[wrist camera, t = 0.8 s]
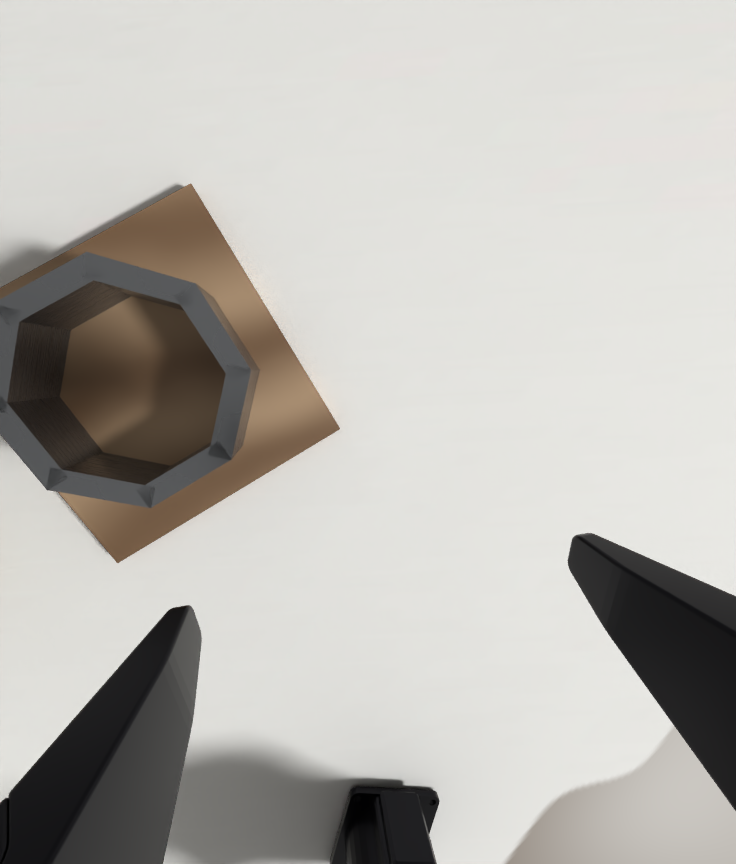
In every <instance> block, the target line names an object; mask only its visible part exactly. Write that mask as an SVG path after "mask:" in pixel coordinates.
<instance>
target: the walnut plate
mask: <svg viewBox="0 0 736 864" xmlns="http://www.w3.org/2000/svg"><path fill="white" fill-rule="evenodd" d="M85 252H89V253H93V254H96V255H100V256H103V257H106V258H110V259H113V260H117V261H120V262H124V263H127V264H131V265H134V266H137V267H141V268H144V269H148V270H151V271H155V272H158V273H162V274H165V275H168V276H172V277H175V278H179V279H182V280H186V281H189V282H192V283H196V284H197V285H199V286H200V287H201V288H202V289H204V290H205V291H206V292H207V293H209V294H210V295H211V296H213V297H214V298H215V300H216V302H217V303H218V305H219V306H220V308H221V309H222V311H223V313H224V314H225V316H226V317H227V319H228V320H229V322H230V324H231V325H232V327H233V328H234V330H235V331H236V333H237V335H238V336H239V338H240V339H241V341H242V342H243V344H244V346H245V347H246V349H247V350H248V352H249V353H250V355H251V357H252V358H253V360H254V361H255V363H256V364H257V366H258V368H259V369H260V372H259V377H258V381H257V386H256V390H255V394H254V399H253V403H252V408H251V412H250V417H249V421H248V425H247V430H246V434H245V439H244V443H243V446H242V447H241V449H240V450H239V451H238V452H237V454H236V455H235V456H234V457H233V459H232V460H230V461H228V462H227V463H225V464H223V465H222V466H220V467H218V468H217V469H215V470H213V471H212V472H210V473H208V474H207V475H205V476H203V477H202V478H200V479H198V480H197V481H195V482H193V483H192V484H190V485H188V486H187V487H185V488H183V489H182V490H180V491H178V492H177V493H175V494H173V495H172V496H170V497H168V498H167V499H165V500H163V501H162V502H160V503H158V504H156V505H155V506H153V507H152V508H147V507H141V506H135V505H130V504H124V503H118V502H113V501H107V500H102V499H96V498H90V497H85V496H79V495H74V494H68V493H62V492H59V494H60V495H61V496H62V497H63V498H64V500H65V501H66V502H67V503H68V504H69V506H70V507H71V508H72V509H73V510H74V512H75V513H76V514H77V515H78V516H79V518H80V519H81V520H82V521H83V522H84V524H85V525H86V526H87V527H88V528H89V530H90V531H91V532H92V533H93V534H94V536H95V537H96V538H97V539H98V540H99V542H100V543H101V544H102V545H103V546H104V548H105V549H106V550H107V551H108V552H109V554H110V555H111V556H112V557H113V558H114V560H115V561H116V562H117V563H119V562H120V561H122V560H124V559H125V558H127V557H129V556H130V555H132V554H134V553H135V552H137V551H139V550H140V549H142V548H144V547H145V546H147V545H149V544H150V543H152V542H154V541H155V540H157V539H159V538H160V537H162V536H164V535H165V534H167V533H169V532H170V531H172V530H173V529H175V528H177V527H178V526H180V525H182V524H183V523H185V522H187V521H188V520H190V519H192V518H193V517H195V516H197V515H198V514H200V513H202V512H203V511H205V510H207V509H208V508H210V507H212V506H213V505H215V504H217V503H218V502H220V501H222V500H223V499H225V498H226V497H228V496H230V495H231V494H233V493H235V492H236V491H238V490H240V489H241V488H243V487H245V486H246V485H248V484H250V483H251V482H253V481H255V480H256V479H258V478H260V477H261V476H263V475H265V474H266V473H268V472H270V471H271V470H273V469H275V468H276V467H278V466H280V465H281V464H283V463H284V462H286V461H288V460H289V459H291V458H293V457H294V456H296V455H298V454H299V453H301V452H303V451H304V450H306V449H308V448H309V447H311V446H313V445H314V444H316V443H318V442H319V441H321V440H323V439H324V438H326V437H328V436H329V435H331V434H333V433H334V432H336V431H337V430H339V429H340V428H339V426H338V425H337V423H336V421H335V420H334V418H333V416H332V415H331V413H330V411H329V410H328V408H327V406H326V405H325V403H324V401H323V400H322V398H321V397H320V395H319V393H318V392H317V390H316V388H315V387H314V385H313V383H312V382H311V380H310V378H309V377H308V375H307V373H306V372H305V370H304V369H303V367H302V365H301V364H300V362H299V360H298V359H297V357H296V355H295V354H294V352H293V350H292V349H291V347H290V345H289V344H288V342H287V341H286V339H285V337H284V336H283V334H282V332H281V331H280V329H279V327H278V326H277V324H276V322H275V321H274V319H273V317H272V316H271V314H270V313H269V311H268V309H267V308H266V306H265V304H264V303H263V301H262V299H261V298H260V296H259V294H258V293H257V291H256V290H255V288H254V286H253V285H252V283H251V281H250V280H249V278H248V276H247V275H246V273H245V271H244V270H243V268H242V266H241V265H240V263H239V262H238V260H237V258H236V257H235V255H234V253H233V252H232V250H231V248H230V247H229V245H228V243H227V242H226V240H225V238H224V237H223V235H222V234H221V232H220V230H219V229H218V227H217V225H216V224H215V222H214V220H213V219H212V217H211V215H210V214H209V212H208V210H207V209H206V207H205V206H204V204H203V202H202V201H201V199H200V197H199V196H198V194H197V192H196V191H195V189H194V187H193V186H192V184H189V185H187V186H185V187H183V188H182V189H180V190H178V191H176V192H174V193H172V194H171V195H169V196H167V197H165V198H163V199H161V200H160V201H158V202H156V203H154V204H152V205H151V206H149V207H147V208H145V209H143V210H141V211H140V212H138V213H136V214H134V215H132V216H130V217H129V218H127V219H125V220H123V221H121V222H120V223H118V224H116V225H114V226H112V227H110V228H109V229H107V230H105V231H103V232H101V233H100V234H98V235H96V236H94V237H92V238H90V239H89V240H87V241H85V242H83V243H81V244H79V245H78V246H76V247H74V248H72V249H70V250H69V251H67V252H65V253H63V254H61V255H59V256H58V257H56V258H54V259H52V260H50V261H48V262H47V263H45V264H43V265H41V266H39V267H38V268H36V269H34V270H32V271H30V272H28V273H27V274H25V275H23V276H21V277H19V278H17V279H16V280H14V281H12V282H10V283H8V284H7V285H5V286H3V287H1V288H0V299H2V298H3V297H5V296H7V295H9V294H11V293H12V292H14V291H16V290H18V289H20V288H22V287H23V286H25V285H27V284H29V283H31V282H32V281H34V280H36V279H38V278H40V277H42V276H43V275H45V274H47V273H49V272H51V271H52V270H54V269H56V268H58V267H60V266H62V265H63V264H65V263H67V262H69V261H71V260H72V259H74V258H76V257H78V256H80V255H82V254H83V253H85ZM225 376H226V373H225V371H224V370H223V368H222V367H221V365H220V364H219V362H218V361H217V359H216V358H215V356H214V355H213V353H212V352H211V350H210V349H209V347H208V346H207V344H206V343H205V341H204V340H203V338H202V337H201V335H200V334H199V332H198V331H197V329H196V327H195V326H194V324H193V323H192V321H191V320H190V318H189V317H188V315H187V314H186V312H185V311H184V310H180V309H176V308H173V307H169V306H165V305H162V304H158V303H155V302H151V301H147V300H144V299H140V298H136V297H133V296H131V297H129V298H127V299H126V300H124V301H122V302H120V303H118V304H117V305H115V306H113V307H111V308H110V309H108V310H106V311H104V312H102V313H101V314H99V315H97V316H95V317H94V318H92V319H90V320H88V321H86V322H85V323H83V324H81V325H79V326H77V327H76V328H74V329H72V330H71V332H70V338H69V344H68V350H67V356H66V363H65V369H64V375H63V381H62V387H61V393H60V397H61V399H62V400H63V401H64V403H65V404H66V405H67V406H68V408H69V409H70V410H71V412H72V413H73V414H74V415H75V417H76V418H77V419H78V421H79V422H80V423H81V424H82V426H83V427H84V428H85V430H86V431H87V432H88V433H89V435H90V436H91V437H92V439H93V440H94V441H95V442H96V444H97V445H98V446H99V447H100V449H101V450H102V451H103V452H105V453H110V454H115V455H120V456H125V457H130V458H135V459H140V460H145V461H150V462H155V463H160V464H165V465H170V466H172V465H173V464H175V463H177V462H178V461H180V460H182V459H183V458H185V457H187V456H188V455H190V454H192V453H194V452H195V451H197V450H199V449H200V448H202V447H204V446H205V445H207V444H209V443H210V442H211V441H212V436H213V431H214V427H215V422H216V418H217V413H218V408H219V404H220V399H221V394H222V390H223V385H224V380H225Z"/></svg>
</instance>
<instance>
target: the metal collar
mask: <svg viewBox="0 0 736 864" xmlns="http://www.w3.org/2000/svg"><path fill="white" fill-rule="evenodd" d="M131 296H133V297H136V298H140V299H144V300H147V301H151V302H155V303H158V304H162V305H165V306H169V307H173V308H176V309H180V310H184V311H185V312H186V314H187V315H188V317H189V318H190V320H191V321H192V323H193V324H194V326H195V327H196V329H197V331H198V332H199V334H200V335H201V337H202V338H203V340H204V341H205V343H206V344H207V346H208V347H209V349H210V350H211V352H212V353H213V355H214V356H215V358H216V359H217V361H218V362H219V364H220V365H221V367H222V368H223V370H224V371H225V373H226V376H225V380H224V385H223V390H222V394H221V399H220V404H219V408H218V413H217V418H216V422H215V427H214V431H213V436H212V441H211V442H210V443H209V444H207V445H205V446H204V447H202V448H200V449H199V450H197V451H195V452H194V453H192V454H190V455H188V456H187V457H185V458H183V459H182V460H180V461H178V462H177V463H175V464H173V465H172V466H170V465H165V464H160V463H155V462H150V461H145V460H140V459H135V458H130V457H125V456H120V455H115V454H110V453H105V452H103V451H102V450H101V449H100V447H99V446H98V445H97V444H96V442H95V441H94V440H93V439H92V437H91V436H90V435H89V433H88V432H87V431H86V430H85V428H84V427H83V426H82V424H81V423H80V422H79V421H78V419H77V418H76V417H75V415H74V414H73V413H72V412H71V410H70V409H69V408H68V406H67V405H66V404H65V403H64V401H63V400H62V399H61V397H60V393H61V387H62V381H63V375H64V369H65V363H66V356H67V350H68V344H69V338H70V332H71V330H72V329H74V328H76V327H77V326H79V325H81V324H83V323H85V322H86V321H88V320H90V319H92V318H94V317H95V316H97V315H99V314H101V313H102V312H104V311H106V310H108V309H110V308H111V307H113V306H115V305H117V304H118V303H120V302H122V301H124V300H126V299H127V298H129V297H131ZM259 372H260V369H259V368H258V366H257V364H256V363H255V361H254V360H253V358H252V357H251V355H250V353H249V352H248V350H247V349H246V347H245V346H244V344H243V342H242V341H241V339H240V338H239V336H238V335H237V333H236V331H235V330H234V328H233V327H232V325H231V324H230V322H229V320H228V319H227V317H226V316H225V314H224V313H223V311H222V309H221V308H220V306H219V305H218V303H217V302H216V300H215V298H214V297H213V296H211V295H210V294H209V293H207V292H206V291H205V290H204V289H202V288H201V287H200V286H199V285H197V284H196V283H192V282H189V281H186V280H182V279H179V278H175V277H172V276H168V275H165V274H162V273H158V272H155V271H151V270H148V269H144V268H141V267H137V266H134V265H131V264H127V263H124V262H120V261H117V260H113V259H110V258H106V257H103V256H100V255H96V254H93V253H89V252H85V253H83V254H82V255H80V256H78V257H76V258H74V259H72V260H71V261H69V262H67V263H65V264H63V265H62V266H60V267H58V268H56V269H54V270H52V271H51V272H49V273H47V274H45V275H43V276H42V277H40V278H38V279H36V280H34V281H32V282H31V283H29V284H27V285H25V286H23V287H22V288H20V289H18V290H16V291H14V292H12V293H11V294H9V295H7V296H5V297H3V298H2V299H0V434H1V436H2V437H3V438H4V439H5V440H6V442H7V443H8V444H9V445H10V446H11V448H12V449H13V450H14V451H15V452H16V453H17V455H18V456H19V457H20V458H21V459H22V461H23V462H24V463H25V464H26V465H27V467H28V468H29V469H30V470H31V471H32V473H33V474H34V475H35V476H36V477H37V478H38V480H39V481H40V482H41V483H42V484H43V486H44V487H45V488H46V490H51V491H57V492H62V493H68V494H74V495H79V496H85V497H90V498H96V499H102V500H107V501H113V502H118V503H124V504H130V505H135V506H141V507H147V508H152V507H153V506H155V505H156V504H158V503H160V502H162V501H163V500H165V499H167V498H168V497H170V496H172V495H173V494H175V493H177V492H178V491H180V490H182V489H183V488H185V487H187V486H188V485H190V484H192V483H193V482H195V481H197V480H198V479H200V478H202V477H203V476H205V475H207V474H208V473H210V472H212V471H213V470H215V469H217V468H218V467H220V466H222V465H223V464H225V463H227V462H228V461H230V460H232V459H233V457H234V456H235V455H236V454H237V452H238V451H239V450H240V449H241V447H242V446H243V443H244V439H245V434H246V430H247V425H248V421H249V417H250V412H251V408H252V403H253V399H254V394H255V390H256V386H257V381H258V377H259Z"/></svg>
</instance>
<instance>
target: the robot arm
mask: <svg viewBox="0 0 736 864" xmlns="http://www.w3.org/2000/svg"><path fill="white" fill-rule="evenodd" d="M568 566H569V569H570V571H571V573H572V575H573V576H574V578H575V580H576V581H577V583H578V585H579V587H580V588H581V590H582V592H583V593H584V595H585V597H586V598H587V600H588V602H589V603H590V605H591V607H592V609H593V610H594V612H595V614H596V615H597V617H598V619H599V620H600V622H601V623H602V625H603V627H604V628H605V630H606V631H607V633H608V634H609V636H610V637H611V638H612V640H613V641H614V643H615V644H616V645H617V647H618V648H619V650H620V651H621V652H622V654H623V655H624V657H625V658H626V659H627V661H628V662H629V663H630V665H631V666H632V668H633V669H634V670H635V672H636V673H637V675H638V676H639V677H640V679H641V680H642V682H643V683H644V684H645V686H646V687H647V688H648V690H649V691H650V693H651V694H652V695H653V697H654V698H655V700H656V701H657V702H658V704H659V705H660V707H661V708H662V709H663V711H664V712H665V713H666V715H667V716H668V718H669V719H670V720H671V722H672V723H673V725H674V726H675V727H676V729H677V730H678V731H679V733H680V734H681V736H682V737H683V738H684V740H685V741H686V743H687V744H688V745H689V747H690V748H691V750H692V751H693V752H694V754H695V755H696V757H697V758H698V759H699V761H700V762H701V763H702V764H703V766H704V768H705V769H706V770H707V772H708V773H709V774H710V776H711V777H712V779H713V780H714V782H715V783H716V784H717V786H718V787H719V788H720V790H721V791H722V793H723V794H724V795H725V797H726V798H727V800H728V801H729V802H730V804H731V805H732V807H733V808H734V809H735V810H736V596H734V595H732V594H729V593H727V592H725V591H722V590H720V589H718V588H716V587H713V586H711V585H709V584H707V583H704V582H702V581H700V580H697V579H695V578H693V577H691V576H688V575H686V574H684V573H681V572H679V571H677V570H675V569H672V568H670V567H668V566H666V565H663V564H661V563H659V562H656V561H654V560H652V559H650V558H647V557H645V556H643V555H641V554H638V553H636V552H634V551H631V550H629V549H627V548H625V547H622V546H620V545H618V544H615V543H613V542H611V541H609V540H606V539H604V538H602V537H600V536H597V535H595V534H592V533H585V534H580V535H576V536H574V537H573V539H572V542H571V547H570V552H569V557H568ZM201 639H202V638H201V631H200V627H199V625H198V622H197V619H196V616H195V613H194V610H193V608H192V607H191V606H189V605H186V606H181V607H175V608H172V609H170V610H169V611H168V612H167V613H166V614H165V615H164V616H163V617H162V618H161V619H160V621H159V622H158V623H157V624H156V625H155V626H154V627H153V629H152V630H151V631H150V632H149V633H148V634H147V636H146V637H145V638H144V639H143V640H142V641H141V642H140V644H139V645H138V646H137V647H136V648H135V649H134V650H133V652H132V653H131V654H130V655H129V656H128V657H127V658H126V660H125V661H124V662H123V663H122V664H121V665H120V666H119V668H118V669H117V670H116V671H115V672H114V673H113V675H112V676H111V677H110V678H109V679H108V680H107V681H106V683H105V684H104V685H103V686H102V687H101V688H100V689H99V691H98V692H97V693H96V694H95V695H94V696H93V697H92V699H91V700H90V701H89V702H88V703H87V704H86V705H85V707H84V708H83V709H82V710H81V711H80V712H79V714H78V715H77V716H76V717H75V718H74V719H73V720H72V722H71V723H70V724H69V725H68V726H67V727H66V728H65V730H64V731H63V732H62V733H61V734H60V735H59V736H58V738H57V739H56V740H55V741H54V742H53V743H52V745H51V746H50V747H49V748H48V749H47V750H46V751H45V753H44V754H43V755H42V756H41V757H40V758H39V759H38V761H37V762H36V763H35V764H34V765H33V766H32V767H31V769H30V770H29V771H28V772H27V773H26V774H25V775H24V777H23V778H22V779H21V780H20V781H19V782H18V784H17V785H16V786H15V787H14V788H13V789H12V790H11V792H10V793H9V798H5V799H4V800H2V802H1V803H0V864H163V860H164V856H165V851H166V846H167V842H168V837H169V832H170V827H171V823H172V818H173V813H174V808H175V804H176V799H177V794H178V790H179V785H180V780H181V775H182V771H183V766H184V761H185V757H186V752H187V747H188V742H189V738H190V733H191V727H192V722H193V715H194V707H195V698H196V689H197V679H198V670H199V661H200V651H201ZM438 805H439V798H438V795H437V792H435V791H433V790H413V789H394V788H374V787H355V788H353V789H352V790H351V791H350V793H349V796H348V800H347V803H346V807H345V810H344V814H343V817H342V820H341V824H340V827H339V831H338V834H337V838H336V841H335V844H334V848H333V851H332V855H331V858H330V864H437V863H436V859H435V855H434V852H433V848H432V844H431V840H430V837H429V833H430V830H431V826H432V823H433V820H434V817H435V814H436V811H437V808H438Z"/></svg>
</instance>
